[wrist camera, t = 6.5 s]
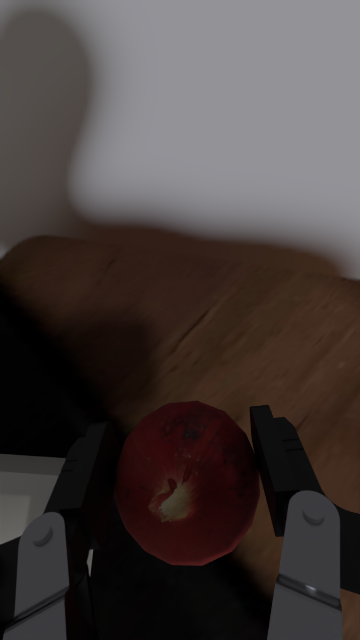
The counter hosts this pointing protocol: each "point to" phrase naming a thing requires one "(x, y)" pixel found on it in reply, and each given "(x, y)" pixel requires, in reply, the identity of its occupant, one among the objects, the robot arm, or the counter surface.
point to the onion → (187, 483)
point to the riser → (26, 492)
